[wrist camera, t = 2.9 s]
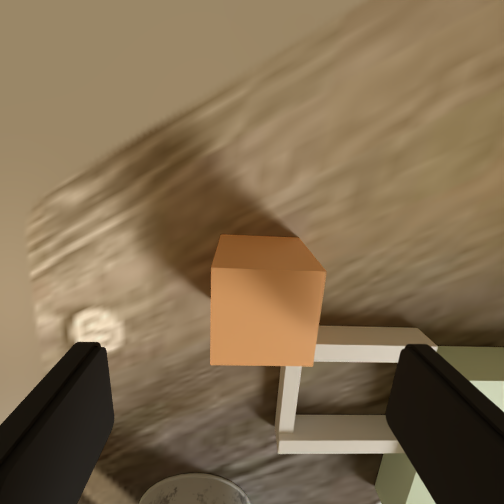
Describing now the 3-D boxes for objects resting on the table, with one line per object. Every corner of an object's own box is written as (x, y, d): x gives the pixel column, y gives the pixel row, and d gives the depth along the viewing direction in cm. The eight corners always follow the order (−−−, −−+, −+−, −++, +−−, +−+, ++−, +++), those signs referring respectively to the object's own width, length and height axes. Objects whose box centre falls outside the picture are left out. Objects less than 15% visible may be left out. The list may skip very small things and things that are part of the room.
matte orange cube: (220, 234, 16) (211, 267, 11) (298, 237, 16) (326, 271, 11) (219, 304, 17) (210, 364, 12) (291, 306, 18) (312, 366, 12)
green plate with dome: (284, 324, 18) (296, 365, 14) (542, 330, 19) (615, 369, 15) (268, 487, 22) (273, 549, 19) (475, 485, 23) (519, 544, 20)
